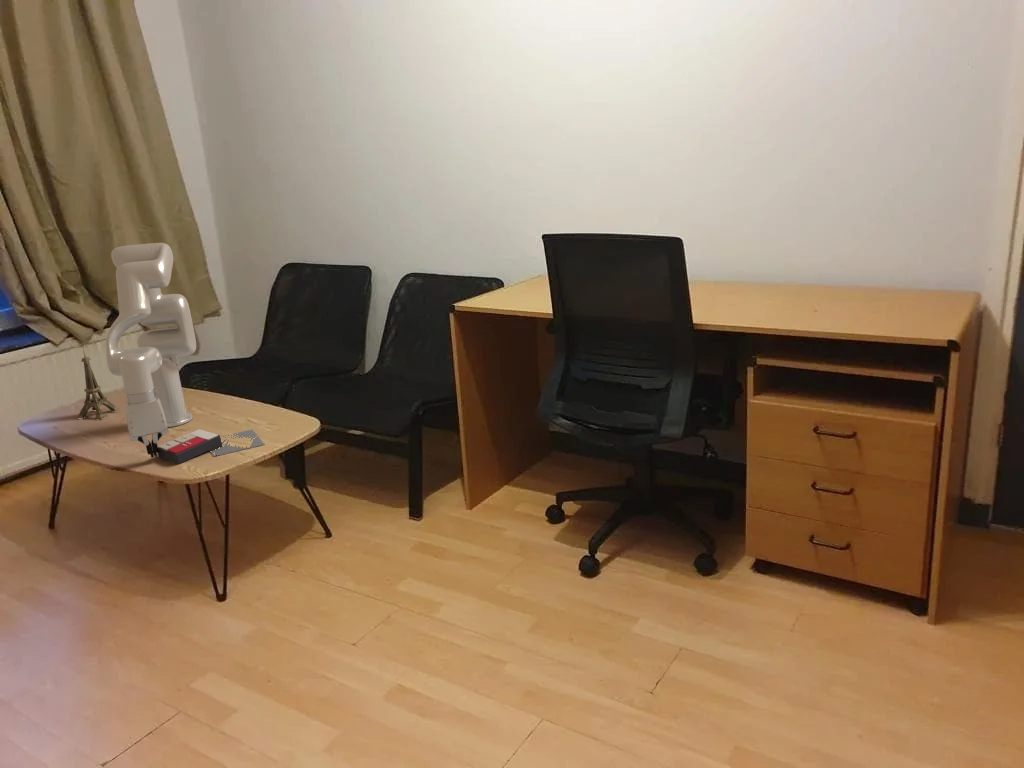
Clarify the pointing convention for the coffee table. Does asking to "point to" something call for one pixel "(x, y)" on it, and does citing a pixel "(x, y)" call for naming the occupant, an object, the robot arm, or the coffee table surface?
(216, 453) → the desk mat
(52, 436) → the coffee table surface
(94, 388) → the eiffel tower
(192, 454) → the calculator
